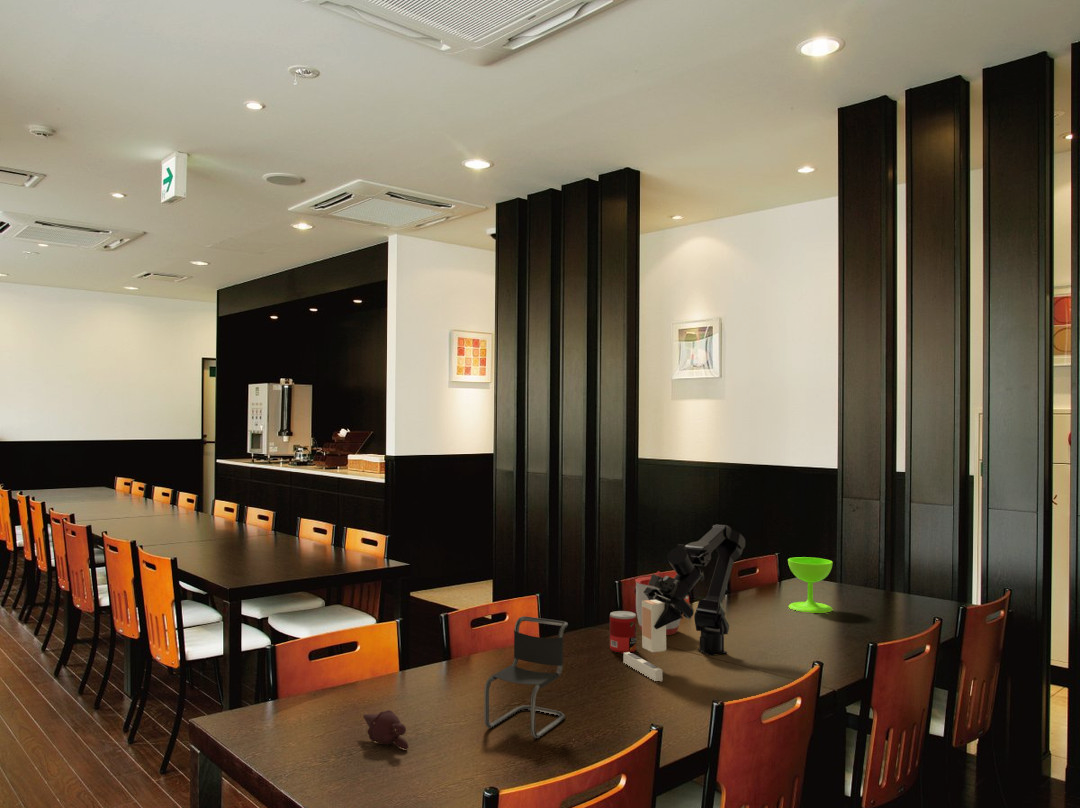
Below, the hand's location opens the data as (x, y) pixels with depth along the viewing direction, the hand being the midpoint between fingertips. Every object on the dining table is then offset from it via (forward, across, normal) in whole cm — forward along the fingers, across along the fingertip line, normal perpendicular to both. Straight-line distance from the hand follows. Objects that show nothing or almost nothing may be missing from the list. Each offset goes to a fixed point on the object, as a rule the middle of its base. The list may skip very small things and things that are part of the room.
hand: (649, 625), depth 220 cm
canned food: (+7, -20, +10) cm, 24 cm away
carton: (+4, 0, +6) cm, 7 cm away
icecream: (+64, +24, -48) cm, 83 cm away
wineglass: (-57, -43, +76) cm, 104 cm away
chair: (+42, +25, -24) cm, 54 cm away
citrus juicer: (-8, -34, +26) cm, 44 cm away
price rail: (+11, +1, +6) cm, 13 cm away
